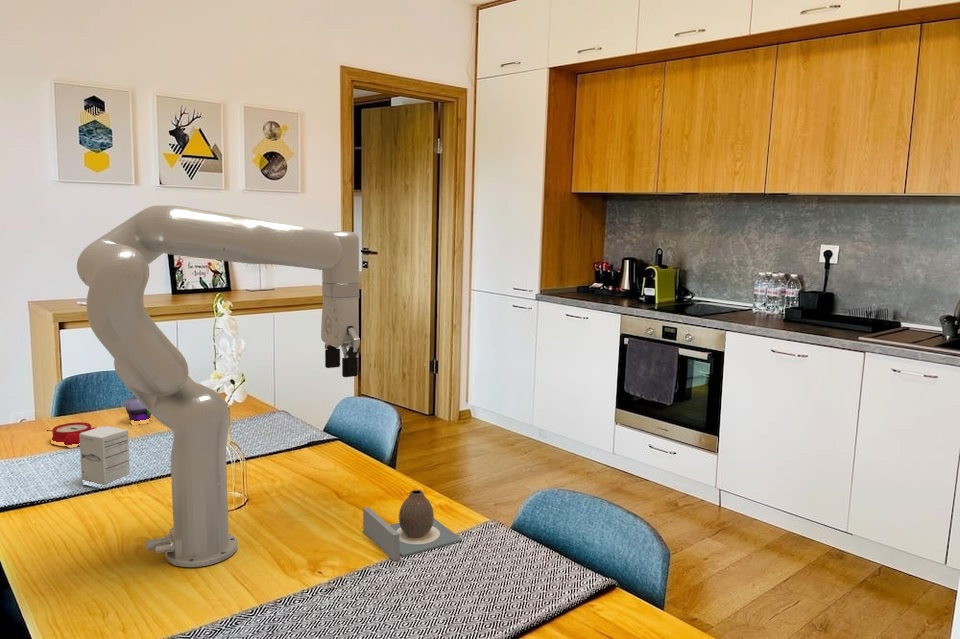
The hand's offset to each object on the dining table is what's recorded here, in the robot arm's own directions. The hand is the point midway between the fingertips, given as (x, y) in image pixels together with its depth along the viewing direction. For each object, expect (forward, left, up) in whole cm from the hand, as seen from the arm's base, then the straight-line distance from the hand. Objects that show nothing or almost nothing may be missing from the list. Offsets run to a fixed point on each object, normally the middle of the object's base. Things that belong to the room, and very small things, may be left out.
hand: (341, 371), depth 148 cm
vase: (+8, -20, -30) cm, 37 cm away
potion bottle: (-29, +88, -31) cm, 98 cm away
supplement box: (-42, +40, -31) cm, 66 cm away
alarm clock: (-46, +77, -31) cm, 95 cm away
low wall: (0, -20, -30) cm, 36 cm away
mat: (+8, -20, -30) cm, 37 cm away
